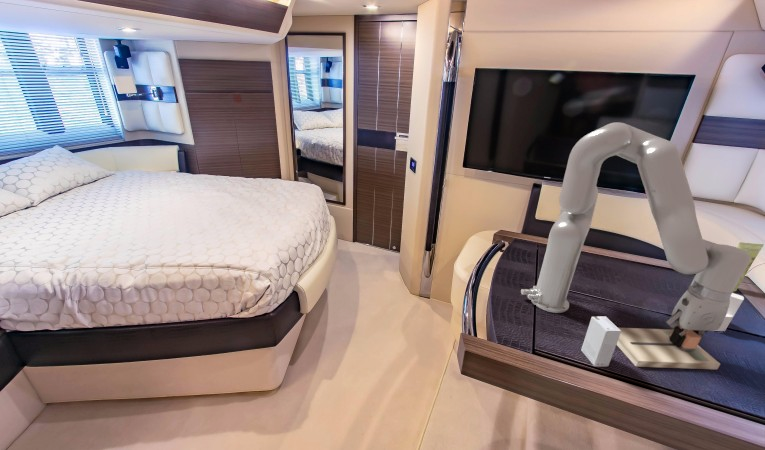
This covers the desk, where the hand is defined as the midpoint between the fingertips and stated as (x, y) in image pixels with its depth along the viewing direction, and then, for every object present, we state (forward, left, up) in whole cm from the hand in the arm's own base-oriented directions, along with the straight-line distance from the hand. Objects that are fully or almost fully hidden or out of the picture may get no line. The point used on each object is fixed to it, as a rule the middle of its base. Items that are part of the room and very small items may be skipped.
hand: (681, 343), depth 91 cm
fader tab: (0, 0, 0) cm, 0 cm away
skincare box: (-27, -4, -3) cm, 27 cm away
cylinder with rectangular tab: (+20, +13, -3) cm, 24 cm away
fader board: (-6, 0, -3) cm, 6 cm away
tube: (+47, +34, -3) cm, 58 cm away
